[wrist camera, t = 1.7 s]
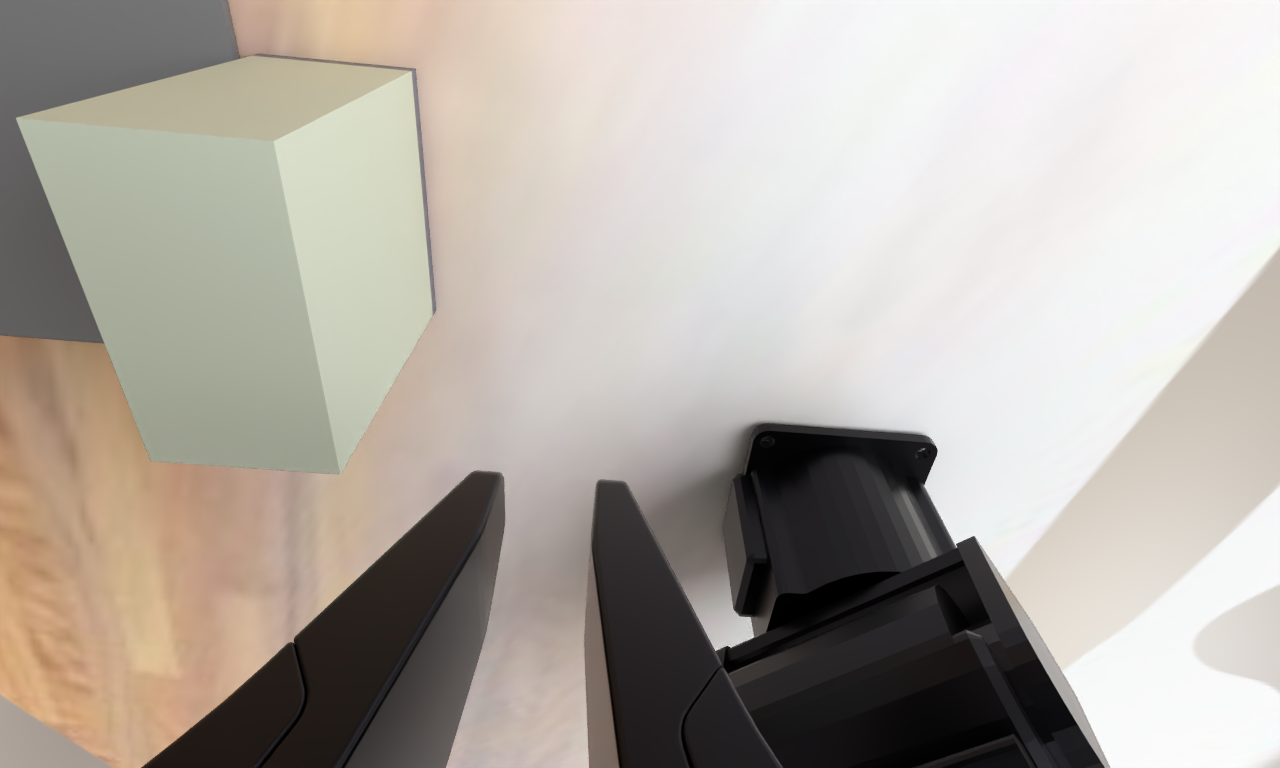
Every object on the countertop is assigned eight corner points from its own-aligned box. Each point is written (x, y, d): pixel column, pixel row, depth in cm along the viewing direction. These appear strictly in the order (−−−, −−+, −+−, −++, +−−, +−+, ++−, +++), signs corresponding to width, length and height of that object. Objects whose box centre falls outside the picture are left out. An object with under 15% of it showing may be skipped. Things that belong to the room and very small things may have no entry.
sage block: (416, 68, 18) (273, 141, 11) (436, 309, 21) (340, 474, 15) (259, 53, 17) (15, 118, 11) (307, 299, 21) (150, 461, 14)
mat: (218, -40, 16) (212, -40, 16) (302, 353, 22) (298, 358, 22) (-191, -82, 16) (-204, -82, 16) (6, 330, 22) (-1, 335, 21)
